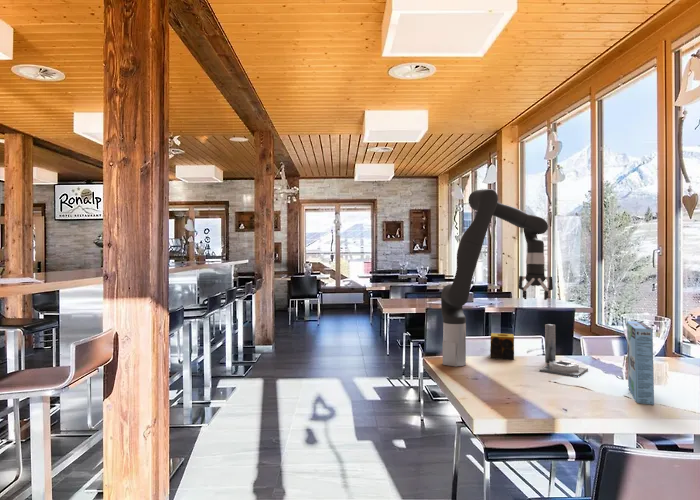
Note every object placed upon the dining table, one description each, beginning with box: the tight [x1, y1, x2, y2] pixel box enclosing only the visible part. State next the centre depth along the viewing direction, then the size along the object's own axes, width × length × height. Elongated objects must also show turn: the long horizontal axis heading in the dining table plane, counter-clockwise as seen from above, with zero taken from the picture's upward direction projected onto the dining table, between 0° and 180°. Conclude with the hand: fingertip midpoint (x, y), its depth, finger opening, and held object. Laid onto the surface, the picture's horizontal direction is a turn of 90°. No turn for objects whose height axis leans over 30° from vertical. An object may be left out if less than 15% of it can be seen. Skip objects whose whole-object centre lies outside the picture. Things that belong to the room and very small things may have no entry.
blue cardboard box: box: [626, 320, 655, 406], centre depth 152 cm, size 20×5×23 cm, turn 156°
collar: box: [538, 360, 589, 378], centre depth 185 cm, size 14×14×3 cm
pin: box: [544, 323, 556, 364], centre depth 200 cm, size 4×4×16 cm
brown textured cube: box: [489, 332, 515, 361], centre depth 211 cm, size 10×10×10 cm
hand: (535, 299), depth 210 cm, fingers open, 8 cm apart
